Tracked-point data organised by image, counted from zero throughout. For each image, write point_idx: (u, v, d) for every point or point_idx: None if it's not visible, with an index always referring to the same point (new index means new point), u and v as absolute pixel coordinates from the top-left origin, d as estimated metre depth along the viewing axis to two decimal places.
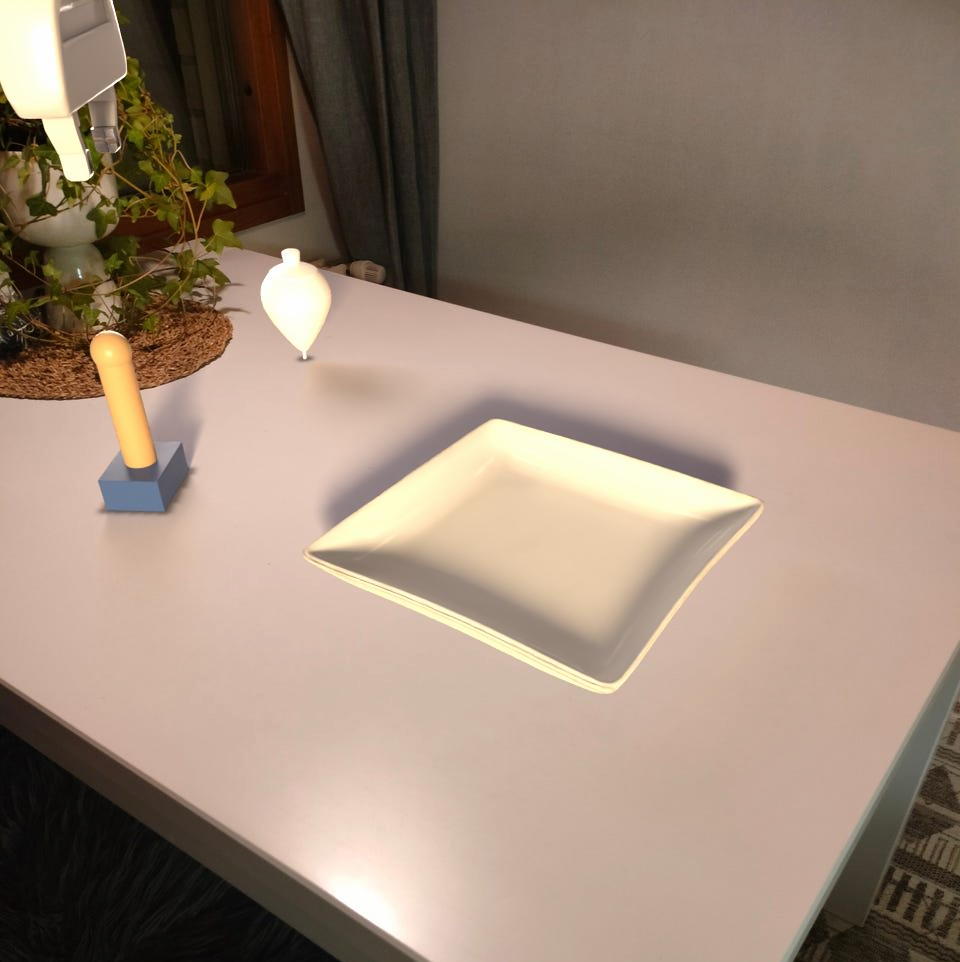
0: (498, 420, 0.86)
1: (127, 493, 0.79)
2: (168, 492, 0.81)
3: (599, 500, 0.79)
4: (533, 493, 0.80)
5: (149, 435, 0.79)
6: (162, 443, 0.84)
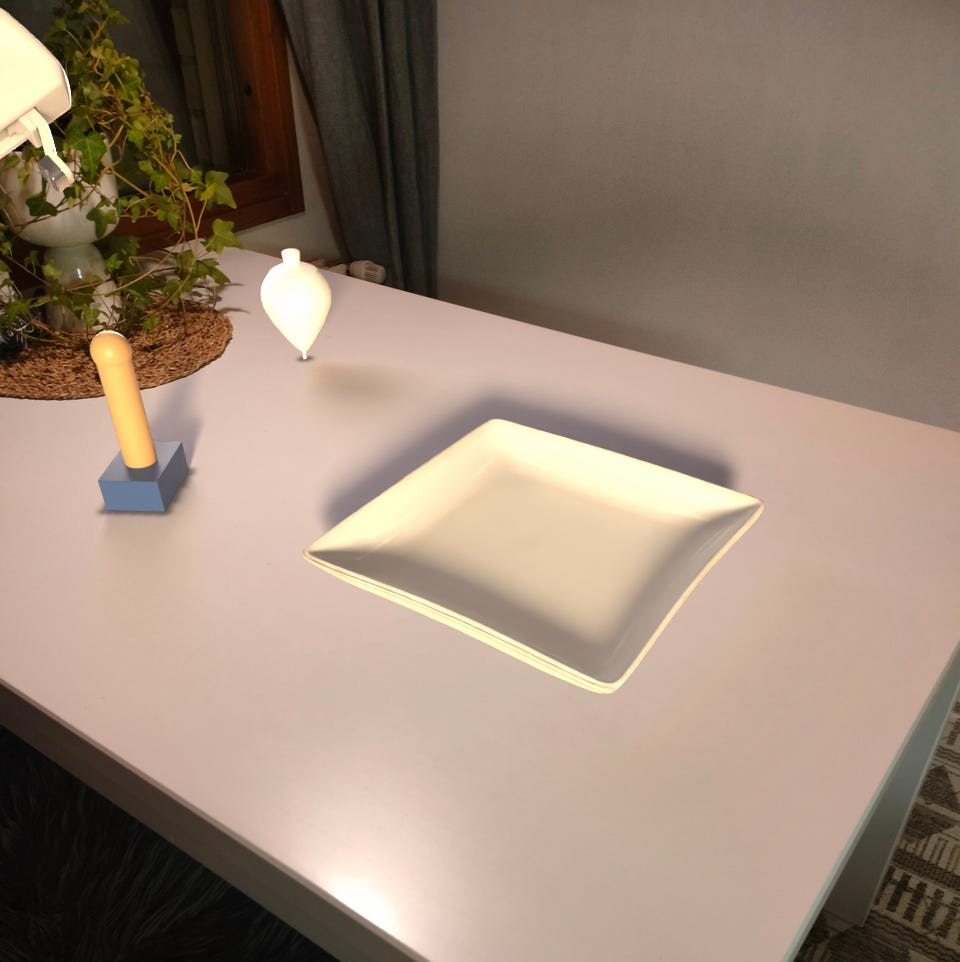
0: (498, 420, 0.86)
1: (127, 493, 0.79)
2: (168, 492, 0.81)
3: (599, 500, 0.79)
4: (533, 493, 0.80)
5: (149, 435, 0.79)
6: (162, 443, 0.84)
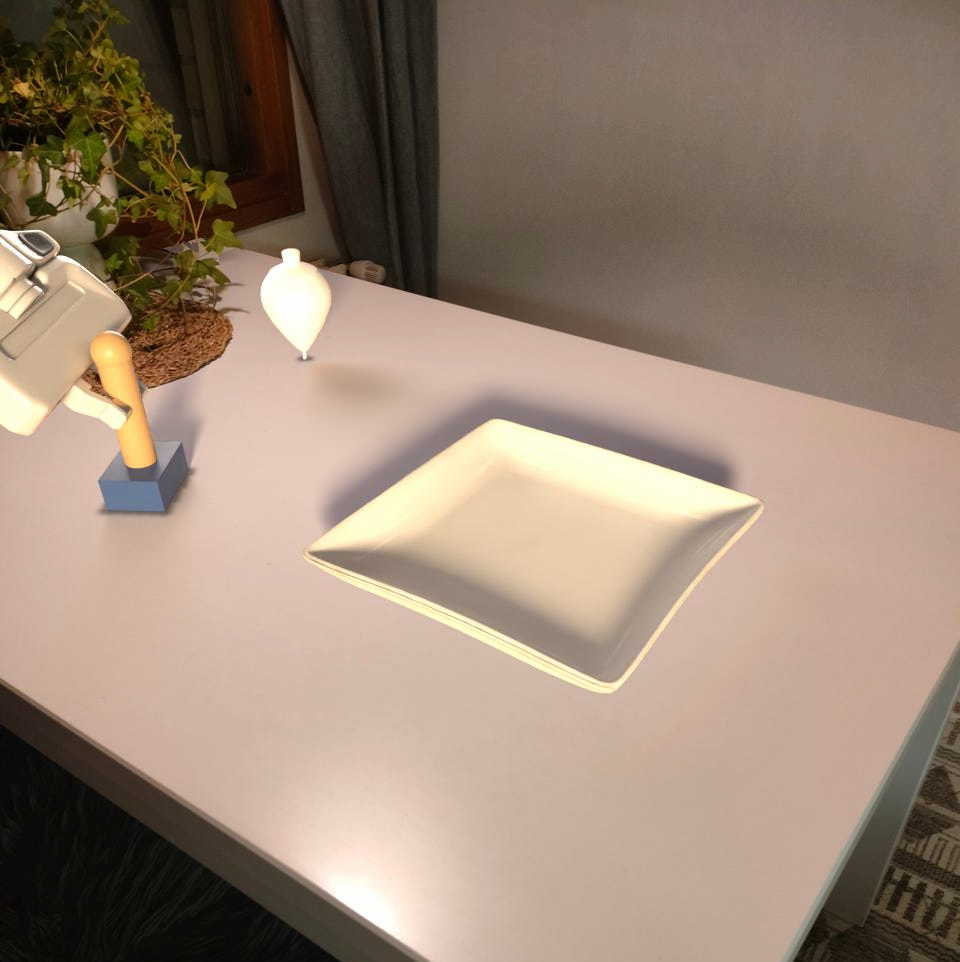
0: (498, 420, 0.86)
1: (127, 493, 0.79)
2: (168, 492, 0.81)
3: (599, 500, 0.79)
4: (533, 493, 0.80)
5: (149, 435, 0.79)
6: (162, 443, 0.84)
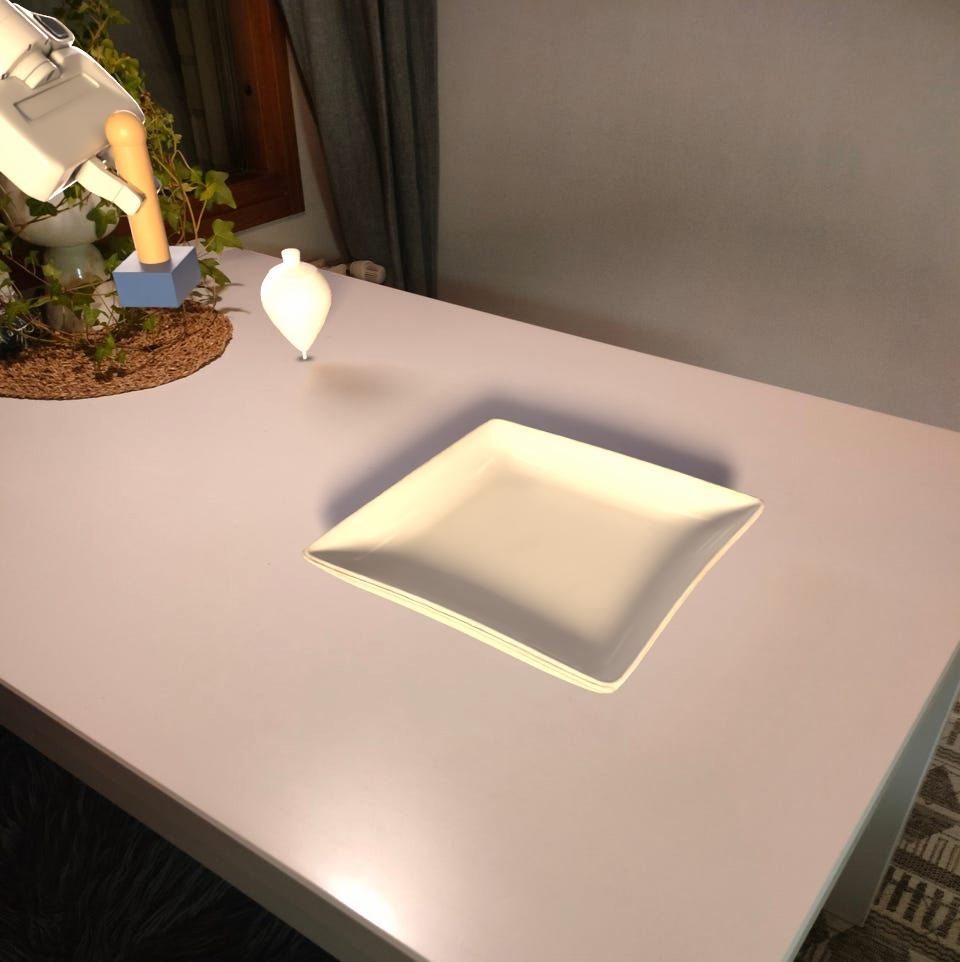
0: (498, 420, 0.86)
1: (141, 286, 0.79)
2: (182, 290, 0.81)
3: (599, 500, 0.79)
4: (533, 493, 0.80)
5: (163, 229, 0.80)
6: (175, 247, 0.84)
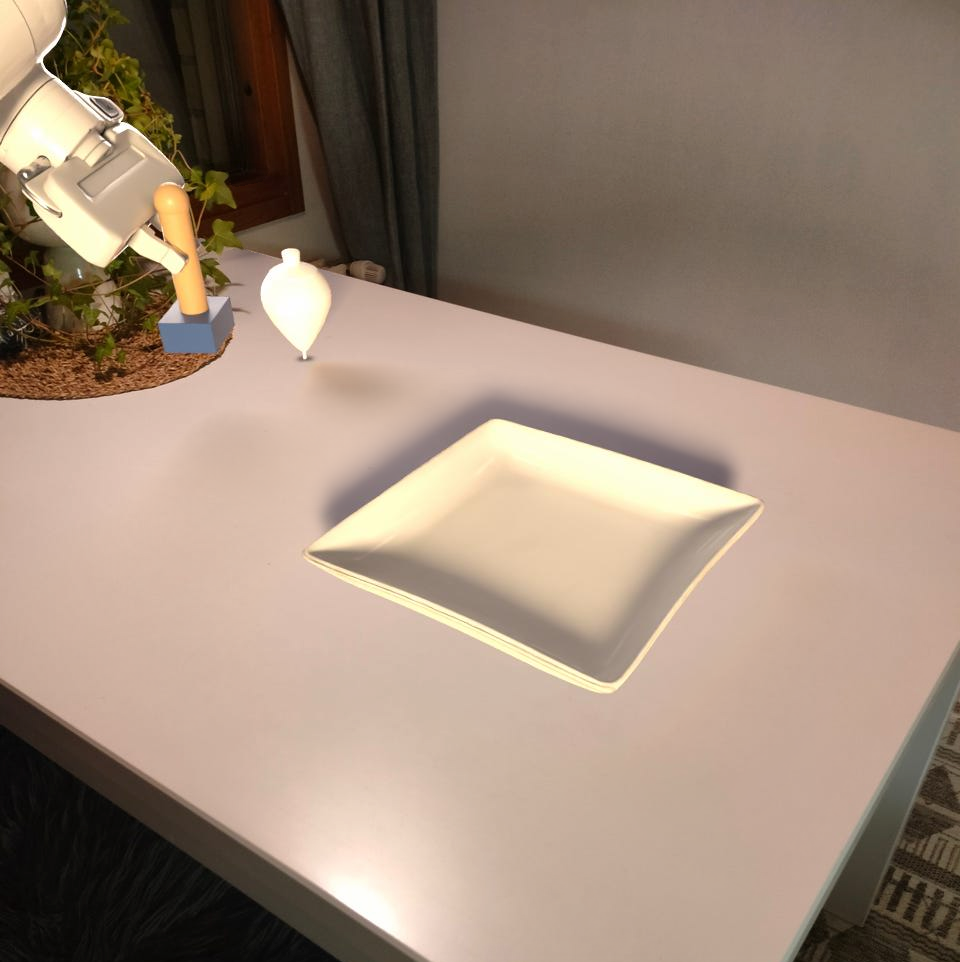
0: (498, 420, 0.86)
1: (183, 335, 0.89)
2: (219, 337, 0.91)
3: (599, 500, 0.79)
4: (533, 493, 0.80)
5: (202, 284, 0.89)
6: (212, 297, 0.93)
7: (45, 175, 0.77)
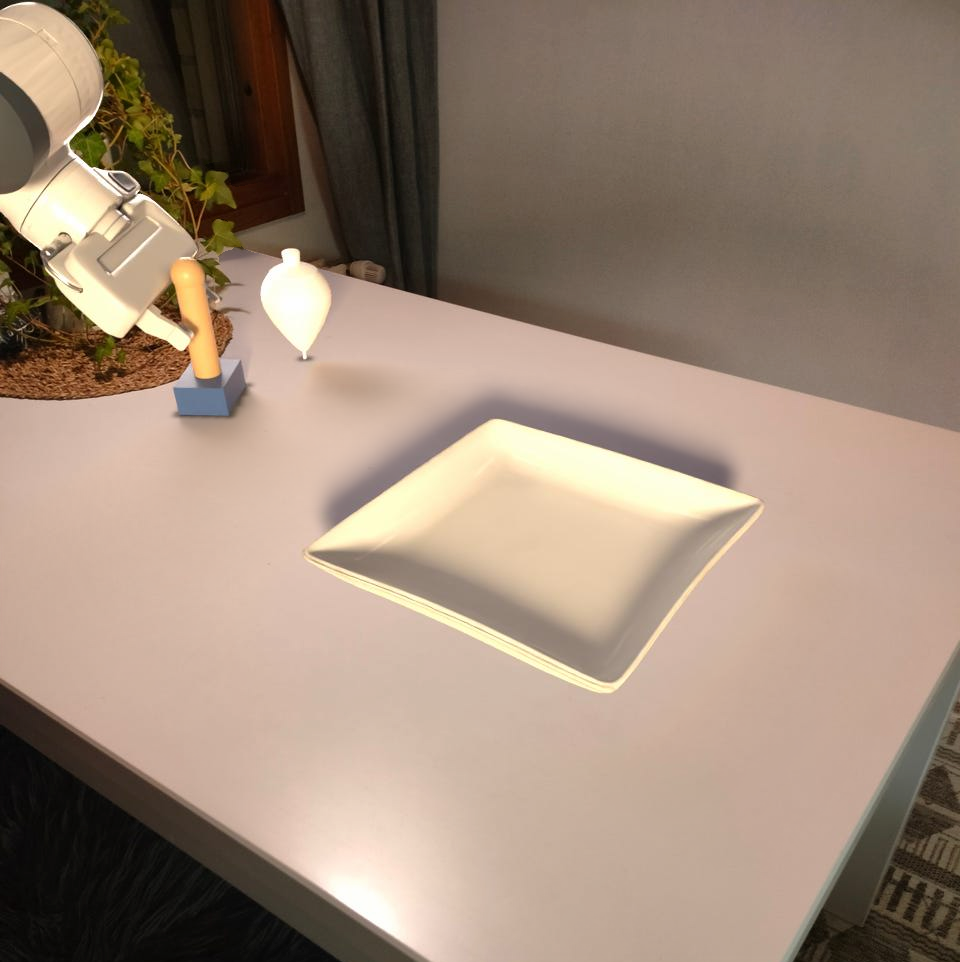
0: (498, 420, 0.86)
1: (197, 399, 0.93)
2: (231, 400, 0.95)
3: (599, 500, 0.79)
4: (533, 493, 0.80)
5: (216, 350, 0.93)
6: (224, 360, 0.97)
7: (66, 252, 0.81)
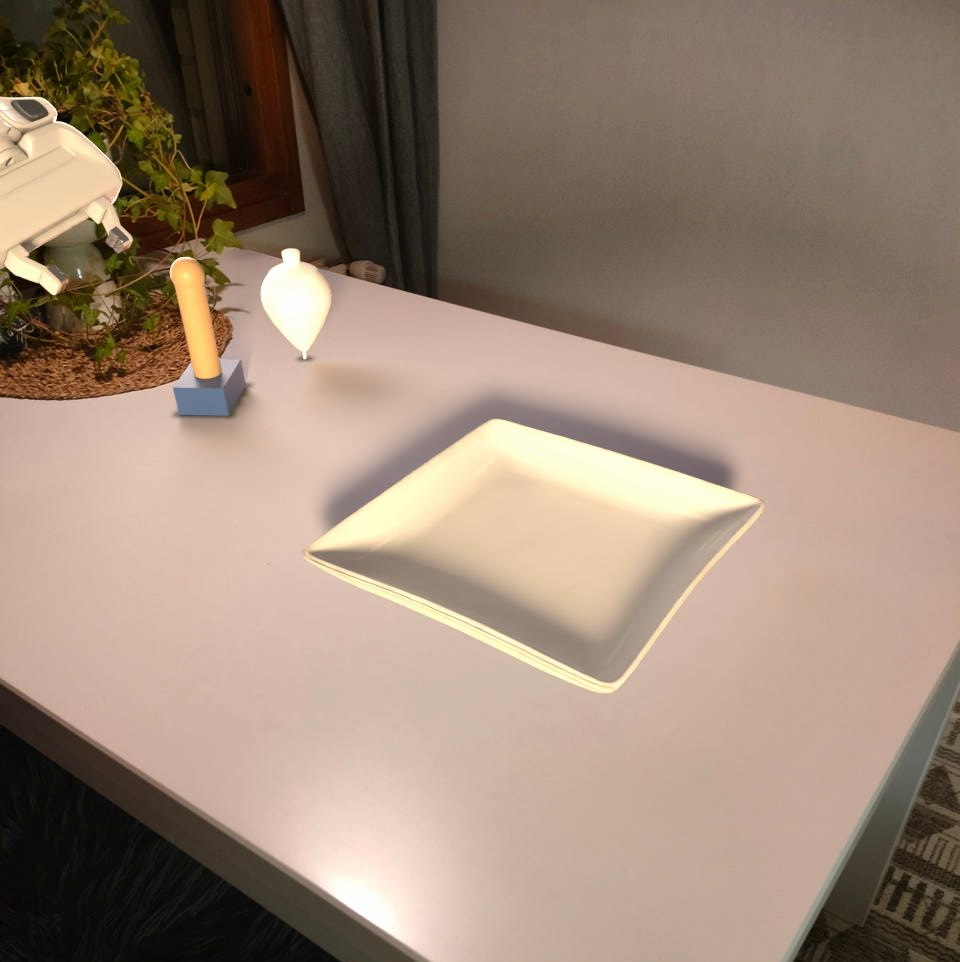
0: (498, 420, 0.86)
1: (197, 399, 0.93)
2: (231, 400, 0.95)
3: (599, 500, 0.79)
4: (533, 493, 0.80)
5: (216, 350, 0.93)
6: (224, 360, 0.97)
7: None
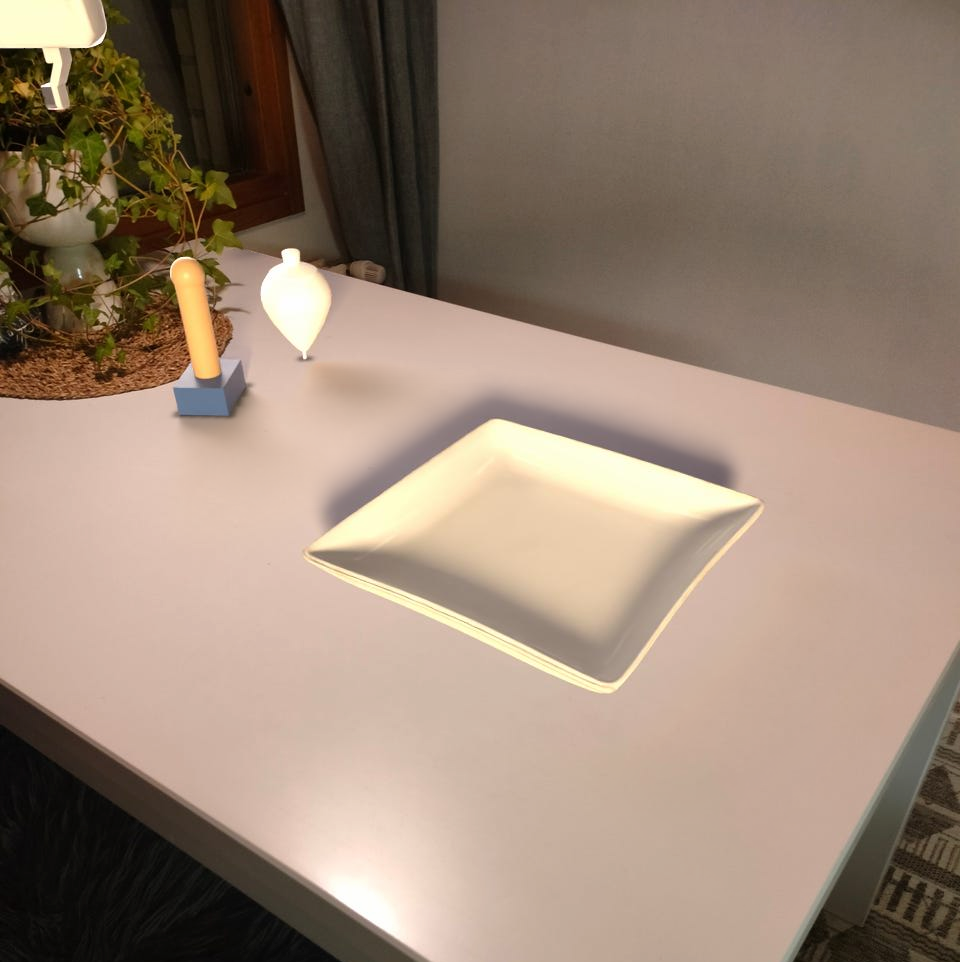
0: (498, 420, 0.86)
1: (197, 399, 0.93)
2: (231, 400, 0.95)
3: (599, 500, 0.79)
4: (533, 493, 0.80)
5: (216, 350, 0.93)
6: (224, 360, 0.97)
7: None
